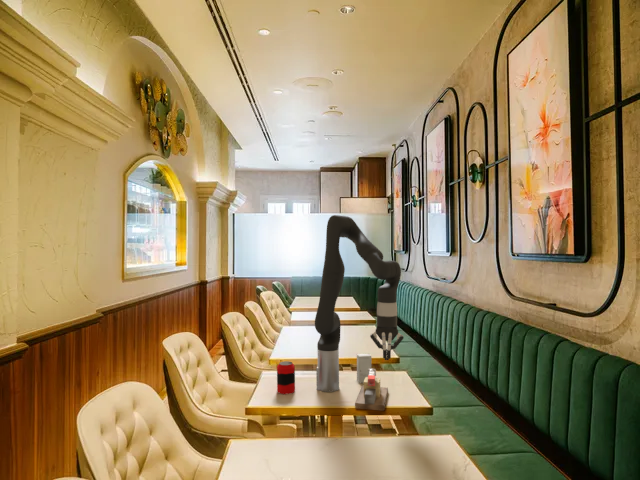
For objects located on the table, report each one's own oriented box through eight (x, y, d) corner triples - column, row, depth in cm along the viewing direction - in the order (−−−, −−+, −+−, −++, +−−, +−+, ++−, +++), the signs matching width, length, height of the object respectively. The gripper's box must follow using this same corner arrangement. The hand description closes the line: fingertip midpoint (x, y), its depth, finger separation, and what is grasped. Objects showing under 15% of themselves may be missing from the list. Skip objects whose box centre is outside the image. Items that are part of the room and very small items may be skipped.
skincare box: (358, 383, 186) (358, 356, 186) (356, 380, 190) (356, 353, 190) (372, 382, 187) (371, 355, 187) (369, 379, 191) (369, 353, 191)
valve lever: (368, 374, 169) (368, 367, 169) (376, 374, 168) (375, 368, 168) (367, 385, 156) (367, 378, 156) (375, 386, 155) (375, 379, 155)
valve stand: (355, 408, 159) (354, 383, 159) (361, 390, 177) (361, 368, 177) (384, 410, 156) (383, 385, 156) (387, 392, 175) (387, 369, 175)
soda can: (296, 393, 175) (296, 365, 175) (278, 395, 173) (278, 366, 173) (293, 387, 182) (293, 360, 182) (276, 389, 180) (275, 361, 180)
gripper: (404, 312, 159) (404, 357, 159) (369, 311, 161) (369, 355, 161) (405, 316, 152) (405, 363, 152) (368, 315, 154) (368, 361, 154)
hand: (386, 359), depth 156 cm, fingers closed
